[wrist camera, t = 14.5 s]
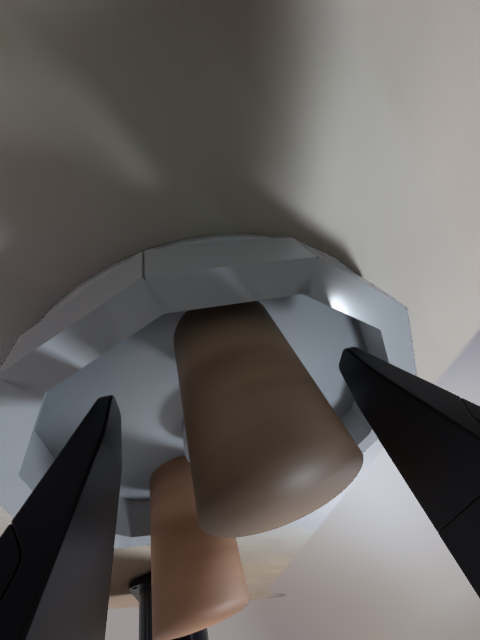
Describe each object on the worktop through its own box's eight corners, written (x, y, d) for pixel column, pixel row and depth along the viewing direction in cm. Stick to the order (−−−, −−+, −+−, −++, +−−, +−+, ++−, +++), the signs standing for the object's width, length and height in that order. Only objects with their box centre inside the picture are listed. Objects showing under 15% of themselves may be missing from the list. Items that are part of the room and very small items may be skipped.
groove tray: (338, 455, 22) (357, 485, 20) (88, 530, 18) (81, 578, 16) (435, 217, 11) (494, 235, 9) (-131, 261, 7) (-231, 311, 5)
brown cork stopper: (201, 492, 18) (222, 624, 13) (139, 494, 16) (137, 650, 11) (230, 455, 16) (266, 589, 11) (166, 452, 14) (177, 613, 10)
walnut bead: (267, 363, 13) (341, 505, 8) (179, 381, 12) (204, 553, 7) (275, 286, 10) (386, 420, 6) (166, 300, 9) (189, 475, 5)
